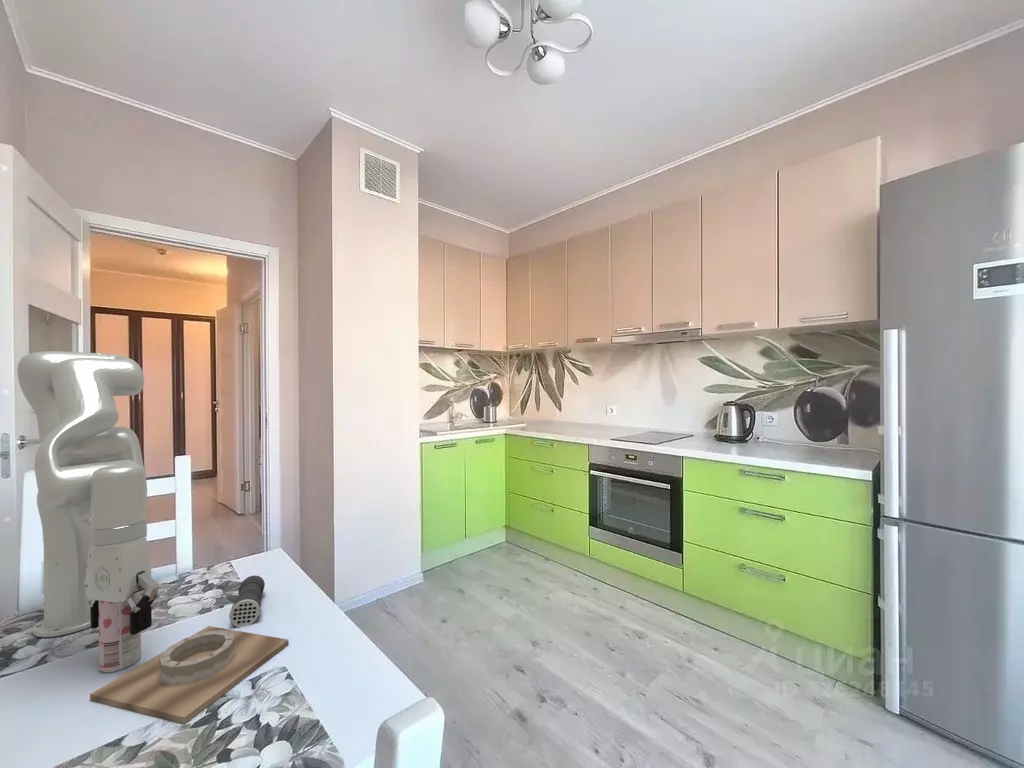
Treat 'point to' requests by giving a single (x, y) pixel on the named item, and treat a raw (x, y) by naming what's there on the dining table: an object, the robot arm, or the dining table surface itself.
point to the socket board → (189, 694)
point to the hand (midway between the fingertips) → (121, 627)
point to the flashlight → (247, 602)
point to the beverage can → (117, 637)
